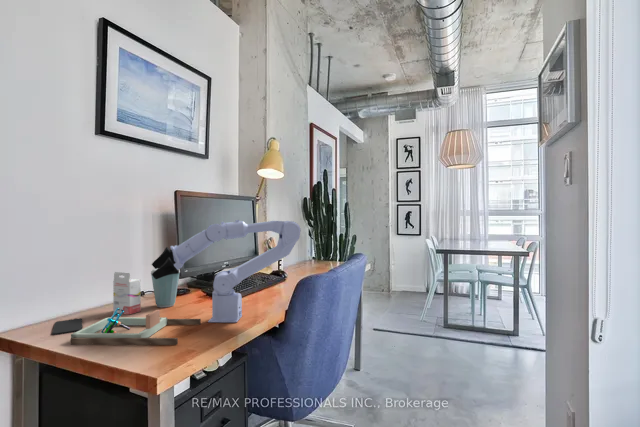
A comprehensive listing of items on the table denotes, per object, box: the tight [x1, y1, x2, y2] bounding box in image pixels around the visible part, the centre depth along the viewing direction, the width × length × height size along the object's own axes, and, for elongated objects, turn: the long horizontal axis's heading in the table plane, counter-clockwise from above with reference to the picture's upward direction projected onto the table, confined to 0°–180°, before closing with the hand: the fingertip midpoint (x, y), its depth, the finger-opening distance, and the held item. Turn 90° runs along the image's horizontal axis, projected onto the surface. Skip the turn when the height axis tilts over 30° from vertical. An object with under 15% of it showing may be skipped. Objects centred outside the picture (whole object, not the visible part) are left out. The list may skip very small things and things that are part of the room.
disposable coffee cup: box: [150, 268, 181, 308], centre depth 136 cm, size 11×11×15 cm
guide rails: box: [70, 318, 202, 346], centre depth 103 cm, size 29×18×2 cm, turn 89°
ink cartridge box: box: [112, 271, 142, 316], centre depth 127 cm, size 9×5×15 cm, turn 68°
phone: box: [51, 317, 83, 336], centre depth 110 cm, size 7×1×15 cm
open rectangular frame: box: [70, 309, 168, 339], centre depth 103 cm, size 19×16×6 cm
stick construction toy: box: [100, 308, 131, 333], centre depth 104 cm, size 12×7×8 cm
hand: (153, 271), depth 112 cm, fingers open, 7 cm apart
